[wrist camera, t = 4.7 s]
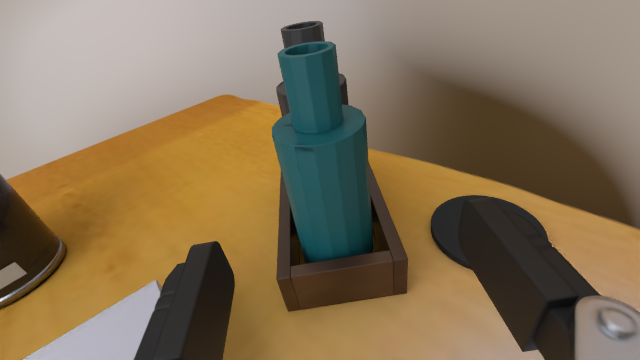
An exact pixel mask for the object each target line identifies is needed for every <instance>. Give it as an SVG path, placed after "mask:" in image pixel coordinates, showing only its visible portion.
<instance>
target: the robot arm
mask: <svg viewBox="0 0 640 360" xmlns="http://www.w3.org/2000/svg"><path fill="white" fill-rule="evenodd" d="M458 241H459V246H460V249H461V251H462V253H463V255H464V256H465V258H466V260H467V261H468V263H469V265H470V266H471V268H472V269H473V271H474V273H475V274H476V276H477V278H478V279H479V281H480V283H481V284H482V286H483V287H484V289H485V291H486V292H487V294H488V296H489V297H490V299H491V301H492V302H493V304H494V306H495V307H496V309H497V310H498V312H499V314H500V315H501V317H502V319H503V320H504V322H505V324H506V325H507V327H508V329H509V330H510V332H511V333H512V335H513V337H514V338H515V340H516V342H517V343H518V345H519V347H520V348H521V350H522V352H525V351H531V350H537V349H538V350H539V351H540V353H541V354H542V356H543V357H544V359H545V360H640V312H639V311H637V310H636V309H634V308H633V307H631V306H629V305H628V304H626V303H623V302H621V301H619V300H616V299H613V298H609V297H605V296H601V295H600V294H599V293H598V292H597V291H596V290H595V289H594V288H593V287H592V286H591V285H590V284H589V283H588V282H587V281H586V280H585V279H584V278H583V277H582V276H581V275H580V274H579V273H578V272H577V270H576V269H575V268H574V267H573V266H572V265H571V264H570V263H569V262H568V261H567V260H566V259H565V258H564V257H563V256H562V255H561V254H560V253H559V252H558V251H557V249H556V248H555V247H552V244H551V243H550V242H549V241H548V240H547V239H546V238H545V237H544V236H542V235H541V233H540V232H539V231H538V230H537V228H536V227H535V226H534V225H533V224H532V223H531V222H530V221H529V220H527V219H526V218H524V217H522V216H521V215H519V214H517V213H515V212H514V211H512V210H508V211H504V210H503V209H502V208H501V206H500V205H499V204H498V203H497V202H496V201H495V200H494V199H493V198H491V197H485V198H479V199H473V200H467V201H464V203H463V206H462V212H461V218H460V225H459V231H458ZM65 252H66V246H65V244H64V242H63V241H62V240H61V239H60V238H59V237H58V236H56V235H55V234H54V233H53V232H52V231H51V230H50V229H49V228H48V226H47V225H46V224H45V223H44V222H43V221H42V220H41V219H40V217H39V216H38V215H37V214H36V213H35V212H34V211H33V210H32V208H31V207H30V206H29V205H28V204H27V203H26V202H25V201H24V200H23V199H22V197H21V196H20V195H19V194H18V193H17V192H16V191H15V190H14V189H13V188H12V186H11V185H10V184H9V183H8V182H7V181H6V180H5V179H4V178H3V177H2V175H1V174H0V308H1V307H3V306H5V305H7V304H9V303H11V302H13V301H15V300H17V299H18V298H20V297H22V296H23V295H25V294H26V293H28V292H29V291H31V290H32V289H34V288H35V287H36V286H38V285H39V284H40V283H41V282H42V281H44V280H45V279H46V278H47V277H48V276H49V275H50V274H51V273H52V272H53V271H54V270H55V269H56V268H57V266H58V265H59V264H60V262H61V261H62V259H63V257H64V255H65ZM234 287H235V281H234V274H233V271H232V269H231V267H230V264H229V262H228V260H227V258H226V256H225V254H224V252H223V250H222V248H221V246H220V244H219V243H218V242H217V241H214V242H208V243H202V244H196V245H193V246H192V247H191V248H190V250H189V253H188V256H187V259H186V262H185V263H181V264H177V266H176V267H175V268H174V269H173V271H172V272H171V273H170V274H169V276H168V277H167V278H166V280H165V282H164V285H163V287H162V290H161V292H160V298H158V300H157V302H156V305H155V307H154V308H155V311H153V312H152V315H151V317H150V320H149V322H148V325H147V327H146V330H145V332H144V335H143V337H142V340H141V342H140V345H139V347H138V350H137V353H136V355H135V358H134V360H222V358H223V352H224V346H225V341H226V335H227V329H228V323H229V317H230V312H231V306H232V300H233V294H234Z"/></svg>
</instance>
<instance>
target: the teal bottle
mask: <svg viewBox="0 0 640 360" xmlns="http://www.w3.org/2000/svg"><path fill="white" fill-rule="evenodd" d="M278 58H279V63H280V68H281V73H282V77H283V82H284V87H285V91H286V96H287V101H288V106H289V110H290V113H288V114H287V115H285V116H283V117H282V118H280V119H279V120H278V121H277V122H276V123H275V124H274V126H273V127H272V137H273V141H274V144H275V148H276V152H277V156H278V160H279V164H280V167H281V171H282V175H283V179H284V183H285V187H286V191H287V194H288V198H289V202H290V206H291V210H292V214H293V218H294V221H295V225H296V229H297V233H298V237H299V241H300V245H301V248H302V252H303V256H304V260H305V263H306V264H308V263H314V262H320V261H326V260H333V259H339V258H345V257H351V256H357V255H364V254H370V253H373V251H374V248H373V231H372V214H371V198H370V181H369V164H368V148H367V131H366V117H365V116H364V114H363V113H362V111H361V110H359V109H357V108H355V107H353V106H349V105H343V104H342V101H341V92H340V82H339V73H338V63H337V54H336V45H335V44H334V43H332V42H325V41H317V42H308V43H302V44H298V45H293V46H290V47H288V48H285V49H283V50H281V51H280V52H279V53H278Z"/></svg>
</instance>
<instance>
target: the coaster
mask: <svg viewBox="0 0 640 360" xmlns="http://www.w3.org/2000/svg"><path fill="white" fill-rule="evenodd" d="M485 197H488V196H478V195H471V196H462V197H457V198H453V199H451V200H448V201H446V202H444V203H443V204H441V205H440V206H439V207H438V208H437V209H436V210H435V212H434V214H433V216H432V219H431V233H432V236H433V239H434V241H435V242H436V244H437V245H438V247H439V248H440V249H441V250H442V251H443V252H444V253H445V254H446V255H447V256H448V257H450V258H451V259H453V260H454V261H456V262H458V263H459V264H461V265H463V266H465V267H468V268H470V269H472V268H471V266H470V265H469V263H468V261H467V260H466V258H465V256H464V255H463V253H462V251H461V249H460V246H459V241H458V231H459V225H460V218H461V212H462V206H463V203H464V201H467V200H473V199H479V198H485ZM491 198H493V199H494V200H495V201H496V202H497V203H498V204H499V205H500V206H501V208H502V209H503V210H504V211H508V210H512V211H514V212H515V213H517V214H519V215H521V216H522V217H524V218H526V219H527V220H529V221H530V222H531V223H532V224H533V225H534V226H535V227H536V228H537V230H538V231H539V232H540V233H541V235H542V236H544V237H545V238H546V239H547V240H548V237H547V234H546V231H545V230H544V228H543V226H542V225H541V224H540V222H539V221H538V220H537V219H536V218H535V217H534V216H533V215H531V214H530V213H529V212H527V211H526V210H524V209H523V208H521V207H519V206H517V205H515V204H513V203H510V202H508V201H505V200H502V199H498V198H494V197H491Z"/></svg>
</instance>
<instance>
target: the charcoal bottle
mask: <svg viewBox="0 0 640 360" xmlns="http://www.w3.org/2000/svg"><path fill="white" fill-rule="evenodd" d="M281 33H282V38H283V43H284V48H288V47H290V46H293V45H298V44H302V43H308V42H317V41H325V40H324V32H323V24H322V22H320V21H309V22H302V23H296V24H292V25H289V26H286V27H283V28H282V29H281ZM339 82H340V92H341V101H342V104H343V105H348V96H347V84H346V78H345V77H344V75H342V74H339ZM277 96H278V100H279V104H280V109H281V113H282V117H283V116H285V115H287V114H288V113H290V110H289V106H288V101H287V96H286V91H285V87H284V82H281V83H280V84H279V85H278V86H277Z"/></svg>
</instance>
